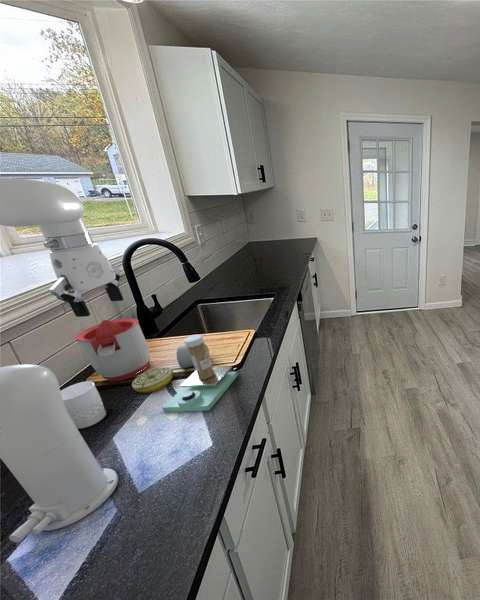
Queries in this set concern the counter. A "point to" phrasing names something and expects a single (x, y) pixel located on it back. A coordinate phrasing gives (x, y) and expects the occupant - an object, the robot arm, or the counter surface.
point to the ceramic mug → (185, 356)
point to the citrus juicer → (116, 348)
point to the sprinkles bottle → (199, 356)
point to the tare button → (188, 395)
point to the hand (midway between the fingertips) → (101, 307)
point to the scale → (200, 396)
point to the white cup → (83, 404)
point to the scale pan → (212, 381)
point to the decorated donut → (152, 380)
